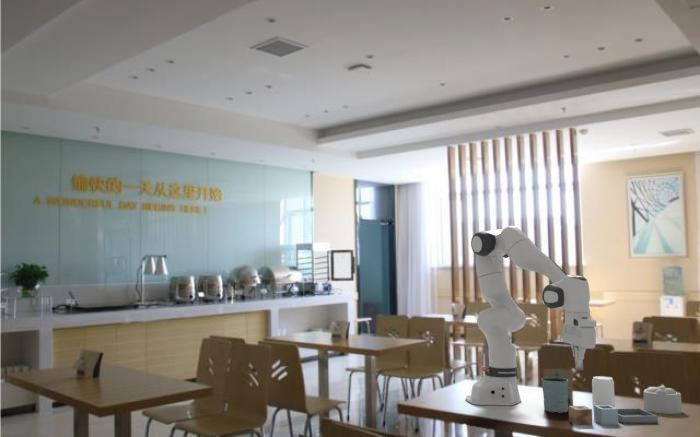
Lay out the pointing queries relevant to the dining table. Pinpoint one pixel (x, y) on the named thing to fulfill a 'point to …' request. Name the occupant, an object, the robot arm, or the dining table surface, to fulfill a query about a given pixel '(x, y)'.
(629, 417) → the tray
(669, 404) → the lumpy-topped squat cylinder
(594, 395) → the white tall block
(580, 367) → the pin gauge
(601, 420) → the blue block
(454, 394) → the dining table surface
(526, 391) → the dining table surface
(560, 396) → the teal bin
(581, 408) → the walnut block
